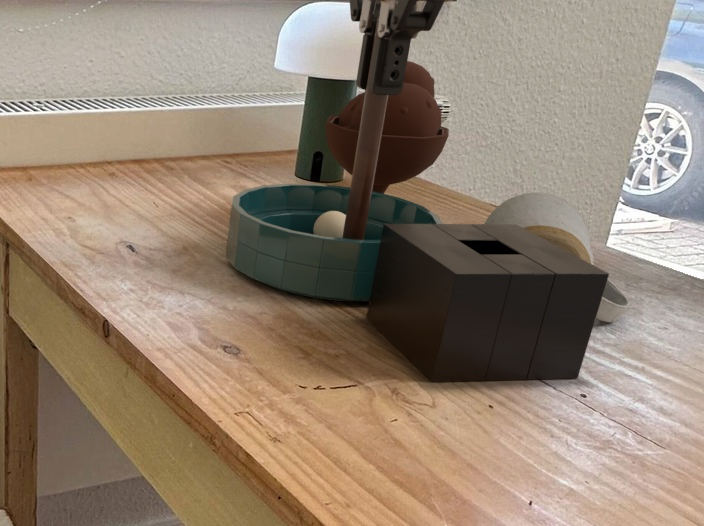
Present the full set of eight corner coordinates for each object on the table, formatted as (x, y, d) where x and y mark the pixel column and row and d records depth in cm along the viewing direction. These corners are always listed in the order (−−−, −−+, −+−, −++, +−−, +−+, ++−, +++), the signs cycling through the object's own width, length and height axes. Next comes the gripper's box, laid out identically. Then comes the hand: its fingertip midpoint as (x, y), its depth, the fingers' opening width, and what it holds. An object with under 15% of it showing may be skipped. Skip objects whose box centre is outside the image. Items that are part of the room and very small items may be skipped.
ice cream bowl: (301, 206, 88) (323, 51, 82) (412, 213, 88) (443, 58, 82) (320, 239, 79) (348, 66, 73) (445, 246, 79) (483, 73, 72)
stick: (354, 259, 69) (395, 16, 61) (362, 266, 67) (405, 18, 60) (335, 260, 69) (373, 15, 61) (343, 267, 67) (383, 17, 60)
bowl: (377, 238, 80) (387, 184, 78) (468, 306, 65) (484, 242, 63) (204, 238, 78) (209, 182, 75) (259, 308, 63) (268, 242, 61)
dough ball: (340, 242, 76) (346, 206, 75) (355, 254, 73) (361, 217, 72) (305, 242, 76) (310, 206, 75) (318, 254, 73) (324, 217, 72)
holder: (493, 316, 64) (516, 224, 61) (578, 378, 55) (610, 273, 52) (365, 318, 62) (383, 223, 59) (431, 382, 53) (456, 274, 51)
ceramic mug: (471, 312, 64) (497, 210, 61) (469, 276, 71) (493, 184, 68) (632, 341, 61) (669, 236, 58) (613, 301, 68) (645, 205, 65)
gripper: (542, -201, 50) (476, 109, 57) (428, -174, 62) (385, 78, 69) (418, -210, 49) (367, 107, 56) (327, -181, 61) (295, 76, 68)
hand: (377, 90), depth 63 cm, fingers closed on stick, 1 cm apart
